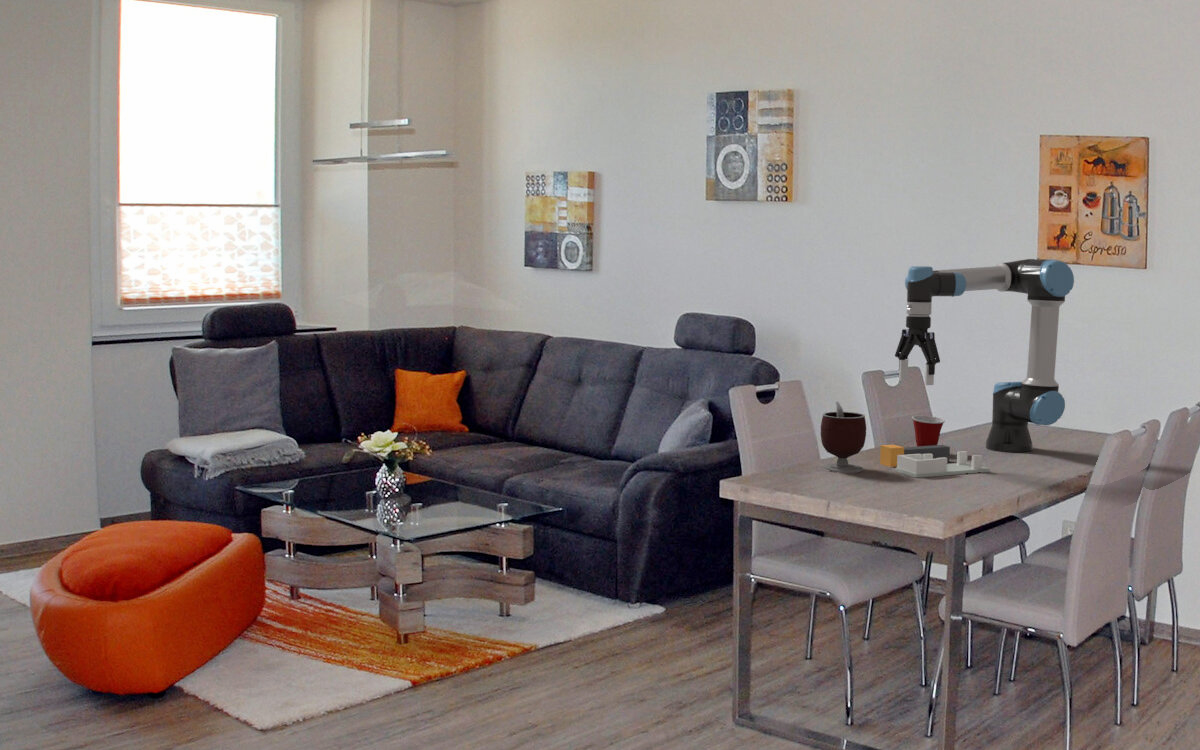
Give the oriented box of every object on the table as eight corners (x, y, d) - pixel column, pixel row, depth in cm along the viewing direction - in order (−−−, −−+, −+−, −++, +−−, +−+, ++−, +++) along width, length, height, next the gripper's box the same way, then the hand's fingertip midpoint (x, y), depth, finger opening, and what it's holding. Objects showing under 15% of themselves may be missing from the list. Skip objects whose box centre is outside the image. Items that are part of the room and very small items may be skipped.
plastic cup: (932, 457, 412) (934, 421, 411) (904, 452, 420) (905, 417, 418) (950, 453, 420) (951, 417, 418) (921, 449, 427) (922, 414, 426)
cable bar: (940, 459, 408) (940, 441, 408) (950, 462, 403) (951, 444, 403) (880, 464, 400) (880, 445, 399) (890, 467, 395) (890, 448, 394)
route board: (967, 465, 398) (967, 449, 397) (989, 471, 388) (990, 455, 387) (895, 470, 388) (895, 455, 388) (916, 477, 378) (916, 461, 377)
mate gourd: (870, 473, 384) (872, 408, 382) (825, 473, 383) (827, 408, 381) (856, 463, 400) (858, 401, 397) (813, 464, 399) (815, 401, 397)
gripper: (885, 313, 405) (883, 378, 407) (933, 318, 382) (930, 387, 384) (905, 312, 408) (902, 377, 410) (953, 318, 384) (950, 386, 387)
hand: (916, 382), depth 397 cm, fingers open, 13 cm apart
